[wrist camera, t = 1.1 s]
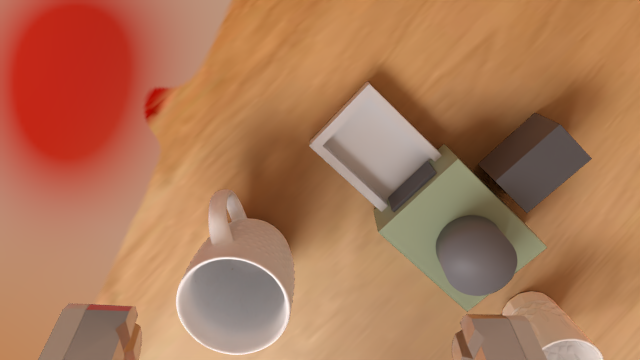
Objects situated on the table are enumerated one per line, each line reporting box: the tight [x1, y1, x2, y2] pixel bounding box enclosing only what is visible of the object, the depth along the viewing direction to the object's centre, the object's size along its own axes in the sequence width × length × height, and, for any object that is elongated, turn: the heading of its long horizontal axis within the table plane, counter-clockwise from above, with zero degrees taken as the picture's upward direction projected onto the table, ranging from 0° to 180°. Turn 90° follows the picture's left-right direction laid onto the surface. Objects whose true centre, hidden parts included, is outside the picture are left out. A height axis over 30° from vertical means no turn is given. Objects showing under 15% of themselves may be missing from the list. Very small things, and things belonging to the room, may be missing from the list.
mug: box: [176, 189, 295, 355], centre depth 50 cm, size 15×11×13 cm
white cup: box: [502, 291, 604, 360], centre depth 54 cm, size 8×8×10 cm
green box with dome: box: [309, 81, 547, 312], centre depth 49 cm, size 25×11×10 cm, turn 47°
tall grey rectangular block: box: [478, 113, 592, 213], centre depth 49 cm, size 5×8×6 cm, turn 137°
